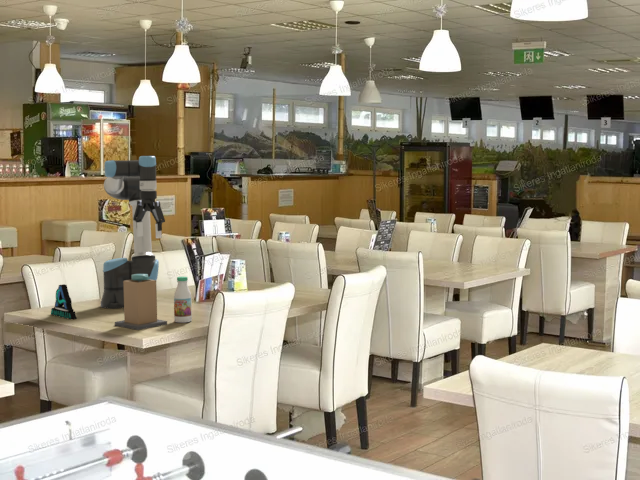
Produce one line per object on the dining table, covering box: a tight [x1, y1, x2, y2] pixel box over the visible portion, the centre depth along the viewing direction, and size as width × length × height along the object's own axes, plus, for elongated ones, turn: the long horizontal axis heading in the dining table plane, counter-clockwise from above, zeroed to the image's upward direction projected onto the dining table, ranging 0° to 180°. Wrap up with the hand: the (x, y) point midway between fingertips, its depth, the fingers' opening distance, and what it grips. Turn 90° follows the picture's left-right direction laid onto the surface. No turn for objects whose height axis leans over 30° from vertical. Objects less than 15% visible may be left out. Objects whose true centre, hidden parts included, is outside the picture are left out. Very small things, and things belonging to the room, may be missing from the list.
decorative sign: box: [50, 284, 77, 320], centre depth 411 cm, size 19×2×15 cm, turn 45°
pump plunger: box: [132, 274, 149, 282], centre depth 388 cm, size 10×7×19 cm
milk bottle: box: [173, 276, 193, 324], centre depth 397 cm, size 8×8×20 cm
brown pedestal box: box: [114, 279, 168, 331], centre depth 389 cm, size 16×16×20 cm
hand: (149, 237), depth 404 cm, fingers open, 13 cm apart
